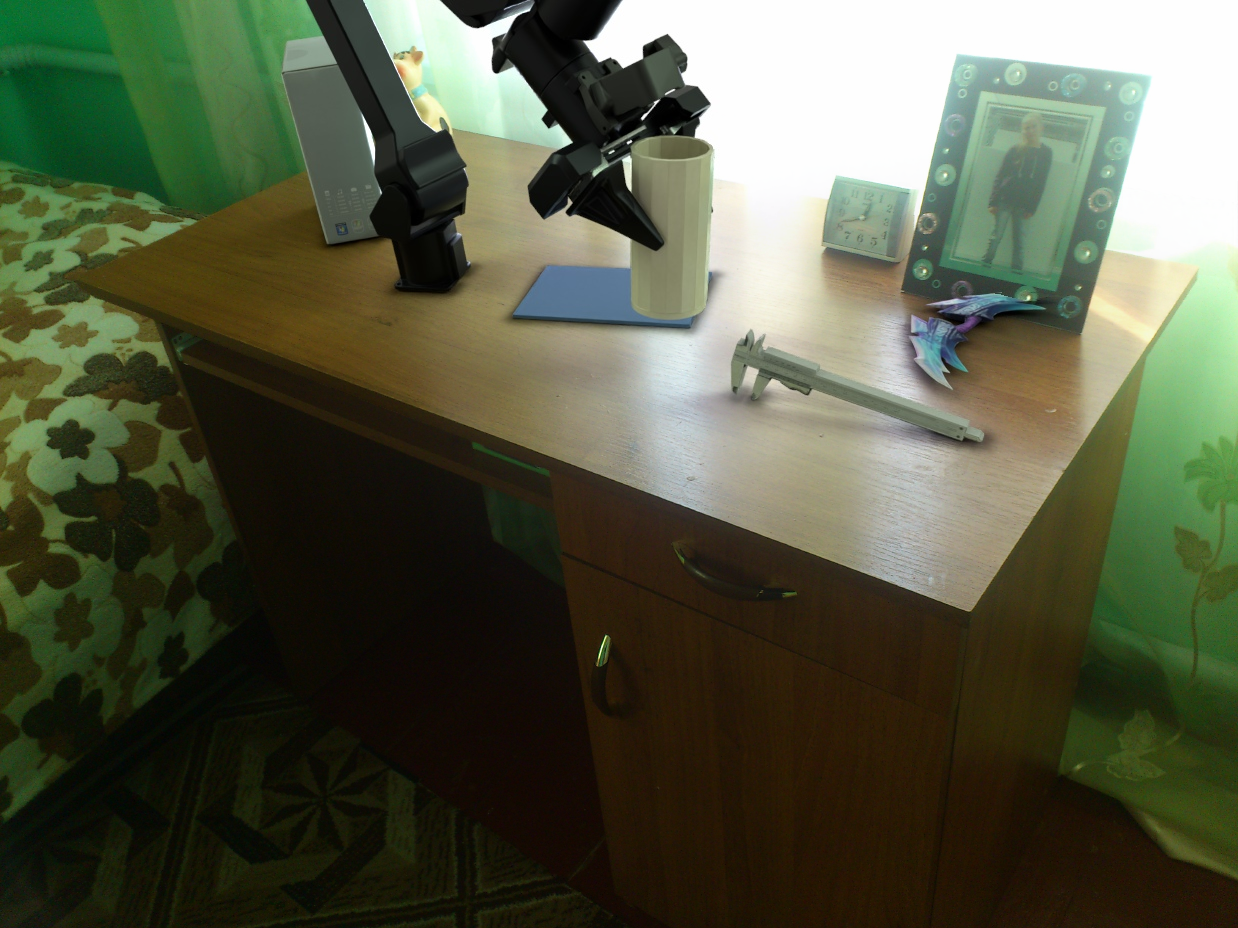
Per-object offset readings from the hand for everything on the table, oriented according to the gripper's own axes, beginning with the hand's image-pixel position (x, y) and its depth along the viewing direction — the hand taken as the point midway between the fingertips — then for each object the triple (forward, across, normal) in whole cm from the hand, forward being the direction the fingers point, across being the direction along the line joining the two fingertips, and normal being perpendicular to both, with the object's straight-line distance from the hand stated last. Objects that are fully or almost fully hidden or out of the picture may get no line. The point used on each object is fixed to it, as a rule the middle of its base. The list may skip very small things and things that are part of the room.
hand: (685, 231), depth 80 cm
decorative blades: (+22, +16, -5) cm, 28 cm away
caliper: (+20, -1, -3) cm, 20 cm away
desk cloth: (-1, +6, +19) cm, 20 cm away
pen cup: (+4, -1, +6) cm, 7 cm away
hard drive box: (-30, +8, +48) cm, 57 cm away
